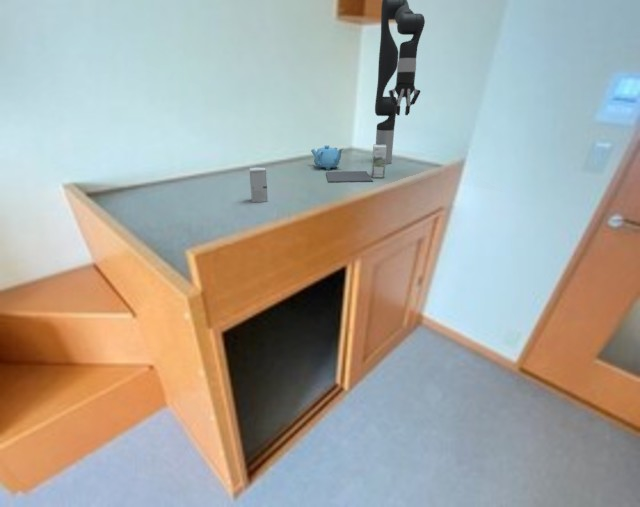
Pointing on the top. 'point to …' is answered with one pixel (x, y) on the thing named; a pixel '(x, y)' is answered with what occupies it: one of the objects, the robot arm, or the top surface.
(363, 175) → the mat
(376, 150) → the syrup box
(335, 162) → the teapot
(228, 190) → the top surface
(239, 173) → the top surface
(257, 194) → the skincare box
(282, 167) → the top surface
